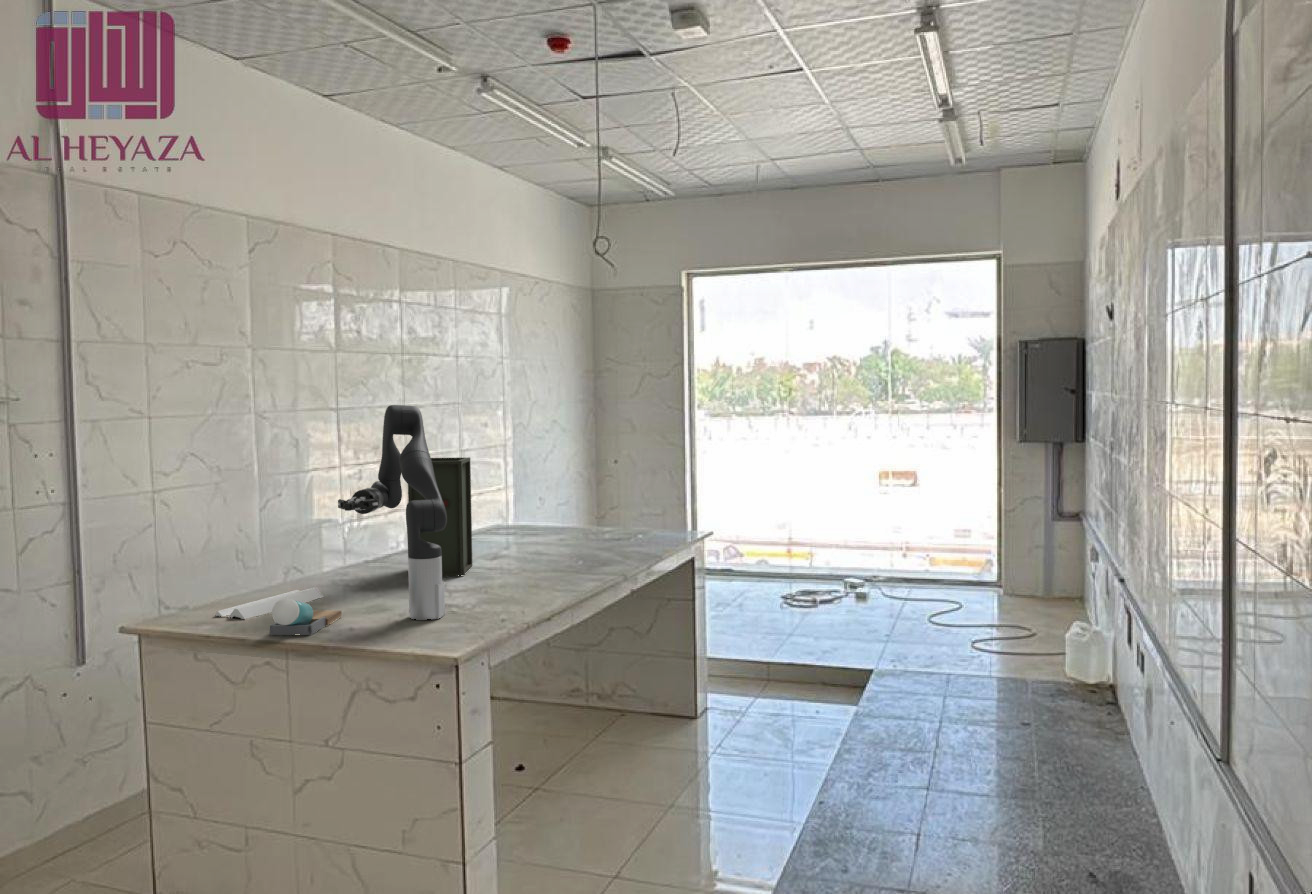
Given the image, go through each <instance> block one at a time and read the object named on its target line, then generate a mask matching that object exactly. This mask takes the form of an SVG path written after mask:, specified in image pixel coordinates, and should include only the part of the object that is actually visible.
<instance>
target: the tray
mask: <svg viewBox="0 0 1312 894" xmlns="http://www.w3.org/2000/svg"><path fill="white" fill-rule="evenodd" d="M325 625H326V617H322V618H320V619H318V620H317V621H315V622H313V623H312V624H307V625H281V624H278V623H277V622H275V621H274V623H272V624H270V625H269V636H272V635H295V634H300V635H311V636H313V635H314V634H316V633H317V632H316V631H318V630H319V629H321V628H322V629H324V628H325V627H324V626H325ZM323 627H324V628H323ZM322 629H321V630H322ZM319 631H320V630H319ZM319 631H318V632H319ZM315 632H316V633H315ZM313 633H314V634H313ZM312 634H313V635H312Z"/></svg>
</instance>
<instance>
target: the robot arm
mask: <svg viewBox="0 0 1312 894" xmlns="http://www.w3.org/2000/svg"><path fill="white" fill-rule="evenodd" d="M386 407H387V408H386V409H385V413H384V416H383V417H384V418H383V426H382V442H381V444H382V445H381V446H382V447H381V460H380V463H379V464H380V465H379V470H378V475H377V479H378V480H377V481H375V482H374V483H372V485H371V486H370V487H366V488H363V489H360V490H357V491H355V492H354V493H353V495H352V496H351V498H348V499H346V500H345V499H340V498H339V499H337V508H338V509H342V510H344V511H345V512H351V511H355V512H356V513H358V514H360V515H367V514H369V513H373V512H376V511H377V510H379V509H382V508H383V507H385V508H388V509H395V508H397V507H398V506H399V505H400V503H401V501H402V498H403V491H402V490H403V489H402V485H401V484H402V481H401V476H402V479H403V480H404V481H405V482H406V484H407V485H408V484H409V485H410V486H411V487H412V488H413V489H415V490H416V491H417V492H419V493H420V494H421V495H422V496H423V497H424V498H425V499H426V500H414V501H409V502H407V504H406V507H405V522H406V534H407V535H406V536H407V563H408V564H407V568H408V569H407V571H408V607H409V608H408V612H409V613H408V614H409V619H410V618H411V619H410V620H414V619H416V620H415V621H428V620H427V619H431V620H437V619H438V620H439V618H440V619H441V618H443V616H444V615H446V607H445V606H446V605H445V603H446V601H445V599H446V597H445V595H446V594H445V592H446V591H445V581H444V580H443V577H442V556H441V555H442V550H441V547H440V546H439V545H437V544H433V543H430V542H427V541H425V540H423V539H422V538H420V533H426V532H437V531H442V530H443V529H444V528H445V527H446V524H447V515H446V509H445V506H444V503H443V500H442V497H441V495H440V492H439V489H438V486H437V483H436V479H435V475H434V470H433V465H432V461H431V458H432V457H431V454H430V450H429V448H428V444H427V440H426V436H425V435H426V434H425V433H426V432H425V427H424V421H423V416H422V415H423V414H422V412H421V410H420V408H419V407H417V406H416V405H415V406H414V405H402V404H401V405H400V404H392V405H391V404H390V405H388V406H386ZM395 435H401V436H410V437H411V439H410V441H409V442H407V444H406V445H405V447H404V448H403V449H402V451H401V452H400V450H399V448H398V447H397V445H396V443H395V441H394V436H395Z"/></svg>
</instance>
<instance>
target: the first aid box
mask: <svg viewBox="0 0 1312 894" xmlns="http://www.w3.org/2000/svg"><path fill="white" fill-rule="evenodd" d="M431 461H432V465H433V470H434V475H435V479H436V483H437V486H438V489H439V492H440V495H441V497H442V500H443V503H444V506H445V509H446V515H447V524H446V527H445V528H444V529H443V530H442V531H437V532H426V533H420V538H422V539H423V540H425V541H427V542H430V543H433V544H437V545H439V546H440V547H441V550H442V555H441V556H442V576H454V577H462V576H461V575H465V576H466V574H467V573H468V572H469V571H470V570H471V569H472V568H473V567H472V566H473V528H472V527H473V526H472V523H473V522H472V519H473V518H472V476H471V475H472V474H471V469H472V468H471V457H431ZM407 498H408V499H407V501H408V502H409V501H414V500H426V499H425V498H424V497H423V496H422V495H421V494H420V493H419V492H417V491H416V490H415V489H413V488H412V487H411V486H410V485H409V484H407ZM408 502H407V503H408ZM471 567H472V568H471ZM470 568H471V569H470ZM469 569H470V570H469ZM468 570H469V571H468ZM467 571H468V572H467ZM466 572H467V573H466ZM465 573H466V574H465ZM458 575H459V576H458Z"/></svg>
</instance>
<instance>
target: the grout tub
mask: <svg viewBox="0 0 1312 894" xmlns="http://www.w3.org/2000/svg"><path fill="white" fill-rule="evenodd" d="M313 611H314V609H313V608H312V606H311V605H310V604H309V603H304V602H299V601H294V600H292V599H288V598H285V599H281V600H279V601H278V602H276V604H275V605H274V606H273V609H272V613H271V616H272V618H273V620H274V623H275V622H277V623H278V624H281V625H307V624H308V623H309V622H310V621H311V620H312V618H313Z"/></svg>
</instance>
